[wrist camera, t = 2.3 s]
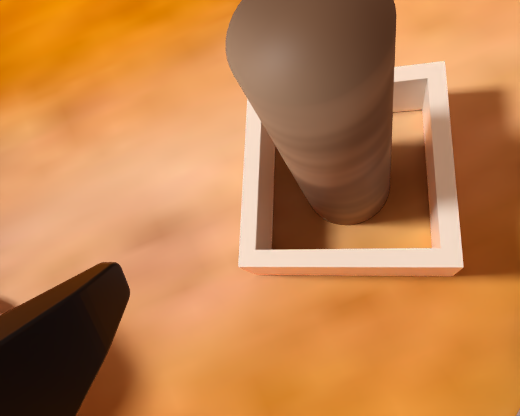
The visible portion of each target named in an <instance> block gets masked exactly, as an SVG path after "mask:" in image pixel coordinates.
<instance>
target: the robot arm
mask: <svg viewBox="0 0 520 416" xmlns="http://www.w3.org/2000/svg"><path fill="white" fill-rule="evenodd" d="M129 297H130V289H129V286H128V283H127V281H126V278H125V276H124V273H123V271H122V268H121V266H120V265H119V264H118V263H116V262H102V263H99V264H97V265H95V266H94V267H92V268H90V269H88V270H86V271H84V272H82V273H80V274H78V275H76V276H75V277H73V278H71V279H69V280H67V281H65V282H63V283H61V284H59V285H57V286H56V287H54V288H52V289H50V290H48V291H46V292H44V293H42V294H40V295H38V296H37V297H35V298H33V299H31V300H29V301H27V302H25V303H23V304H21V305H19V306H18V307H16V308H14V309H12V310H10V311H8V312H6V313H4V314H2V315H0V416H76V415H77V413H78V411H79V409H80V407H81V405H82V403H83V401H84V399H85V397H86V395H87V393H88V391H89V389H90V387H91V385H92V383H93V381H94V379H95V377H96V375H97V373H98V371H99V369H100V367H101V365H102V364H103V361H104V359H105V357H106V355H107V353H108V351H109V348H110V346H111V344H112V341H113V338H114V336H115V333H116V331H117V328H118V326H119V323H120V321H121V318H122V315H123V313H124V310H125V308H126V305H127V303H128V300H129Z"/></svg>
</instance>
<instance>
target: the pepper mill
mask: <svg viewBox="0 0 520 416" xmlns="http://www.w3.org/2000/svg"><path fill="white" fill-rule="evenodd" d="M395 37H396V9H395V4H394V0H242V1H241V2H240V4H239V5H238V7H237V9H236V10H235V12H234V14H233V16H232V18H231V21H230V23H229V27H228V30H227V36H226V55H227V60H228V63H229V67H230V69H231V71H232V73H233V75H234V77H235V78H236V80H237V82H238V83H239V85H240V87H241V88H242V90H243V92H244V94H245V95H246V97H247V99H248V100H249V102H250V104H251V105H252V107H253V109H254V110H255V112H256V114H257V115H258V117H259V119H260V121H261V122H262V124H263V126H264V127H265V129H266V131H267V132H268V134H269V136H270V137H271V139H272V141H273V143H274V144H275V146H276V148H277V149H278V151H279V153H280V154H281V156H282V158H283V159H284V161H285V163H286V165H287V166H288V168H289V170H290V171H291V173H292V175H293V176H294V178H295V180H296V181H297V183H298V185H299V187H300V188H301V190H302V192H303V193H304V195H305V197H306V198H307V200H308V202H309V203H310V205H311V207H312V208H313V210H314V211H315V212H316V213H317V214H318V215H319V216H320V217H322V218H323V219H325V220H327V221H329V222H331V223H335V224H339V225H354V224H358V223H361V222H364V221H366V220H368V219H370V218H371V217H373V216H374V215H375V214H377V213H378V212H379V211H380V209H381V208H382V207H383V205H384V204H385V202H386V200H387V198H388V195H389V190H390V172H391V145H392V118H393V91H394V64H395Z"/></svg>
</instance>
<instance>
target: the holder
mask: <svg viewBox="0 0 520 416" xmlns="http://www.w3.org/2000/svg"><path fill="white" fill-rule="evenodd" d="M412 110H422V114H423V128H424V142H425V156H426V170H427V184H428V198H429V212H430V226H431V240H432V248H391V249H288V250H272V229H273V199H274V169H275V144H274V143H273V141H272V139H271V137H270V136H269V134H268V132H267V131H266V129H265V127H264V126H263V124H262V122H261V121H260V119H259V117H258V115H257V114H256V112H255V110H254V109H253V107H252V105H251V104H250V102H249V100H248V99H247V116H246V134H245V152H244V171H243V189H242V207H241V226H240V244H239V263H238V267H240V268H242V269H244V270H246V271H249V272H251V273H253V274H256V275H345V276H453V275H455V274H456V273H457V272H458V271H460V270H461V269H462V268H463V256H462V245H461V234H460V223H459V211H458V200H457V189H456V178H455V167H454V156H453V145H452V134H451V123H450V112H449V101H448V90H447V79H446V68H445V61H440V62H432V63H424V64H416V65H408V66H400V67H394V91H393V112H402V111H412Z"/></svg>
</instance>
